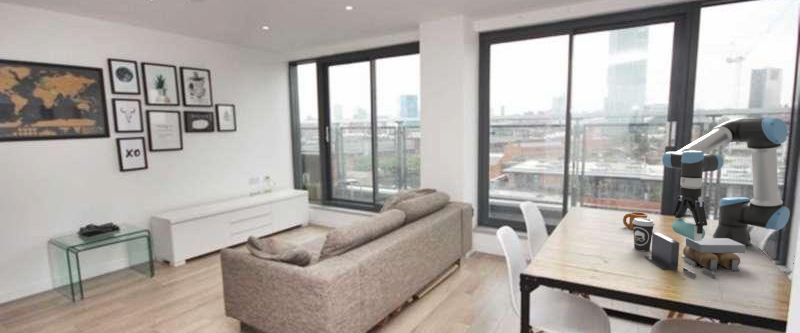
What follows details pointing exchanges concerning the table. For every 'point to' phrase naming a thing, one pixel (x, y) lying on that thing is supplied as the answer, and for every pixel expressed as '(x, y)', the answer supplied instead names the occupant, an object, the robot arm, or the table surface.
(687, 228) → the roller
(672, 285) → the table surface
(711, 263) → the roller bed
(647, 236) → the coffee cup
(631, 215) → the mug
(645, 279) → the table surface
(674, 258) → the block
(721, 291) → the table surface
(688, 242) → the slab
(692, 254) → the roller
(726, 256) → the roller
